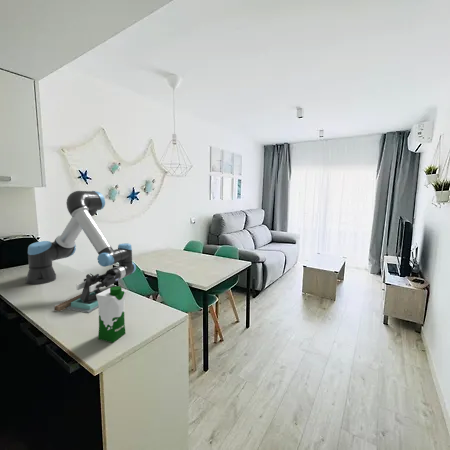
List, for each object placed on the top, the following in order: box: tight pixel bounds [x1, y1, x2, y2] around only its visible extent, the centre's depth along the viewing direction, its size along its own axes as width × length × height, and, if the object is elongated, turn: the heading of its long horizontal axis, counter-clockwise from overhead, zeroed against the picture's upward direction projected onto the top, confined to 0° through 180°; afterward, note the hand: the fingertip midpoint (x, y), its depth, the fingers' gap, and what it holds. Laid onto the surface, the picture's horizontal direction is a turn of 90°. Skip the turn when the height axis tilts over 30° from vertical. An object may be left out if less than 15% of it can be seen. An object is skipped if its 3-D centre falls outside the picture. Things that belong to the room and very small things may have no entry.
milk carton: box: [96, 285, 127, 344], centre depth 99 cm, size 9×9×20 cm
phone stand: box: [80, 273, 102, 302], centre depth 127 cm, size 9×6×12 cm, turn 135°
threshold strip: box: [54, 291, 94, 312], centre depth 130 cm, size 3×24×2 cm, turn 165°
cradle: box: [65, 292, 99, 314], centre depth 128 cm, size 13×18×3 cm
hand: (83, 288), depth 122 cm, fingers closed on phone stand, 7 cm apart
